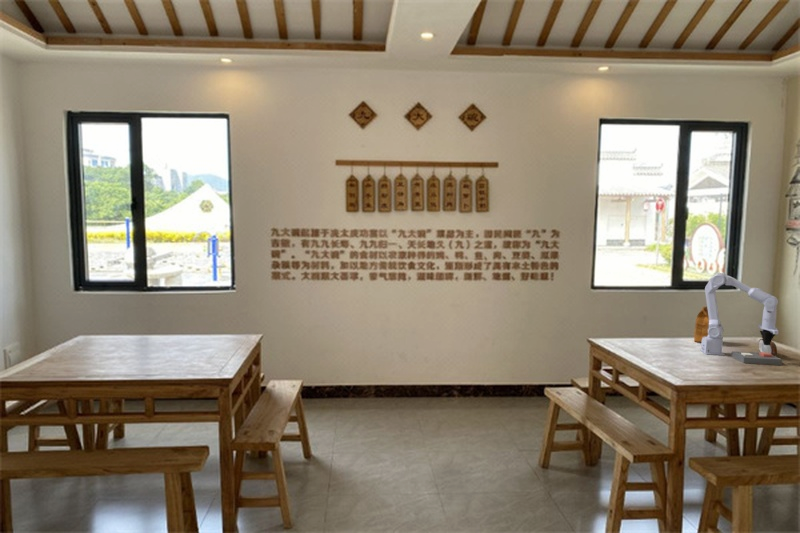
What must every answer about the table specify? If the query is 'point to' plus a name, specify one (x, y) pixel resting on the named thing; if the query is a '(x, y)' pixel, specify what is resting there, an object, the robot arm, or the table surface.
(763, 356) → the red button
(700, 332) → the coffee package
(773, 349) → the tin
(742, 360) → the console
